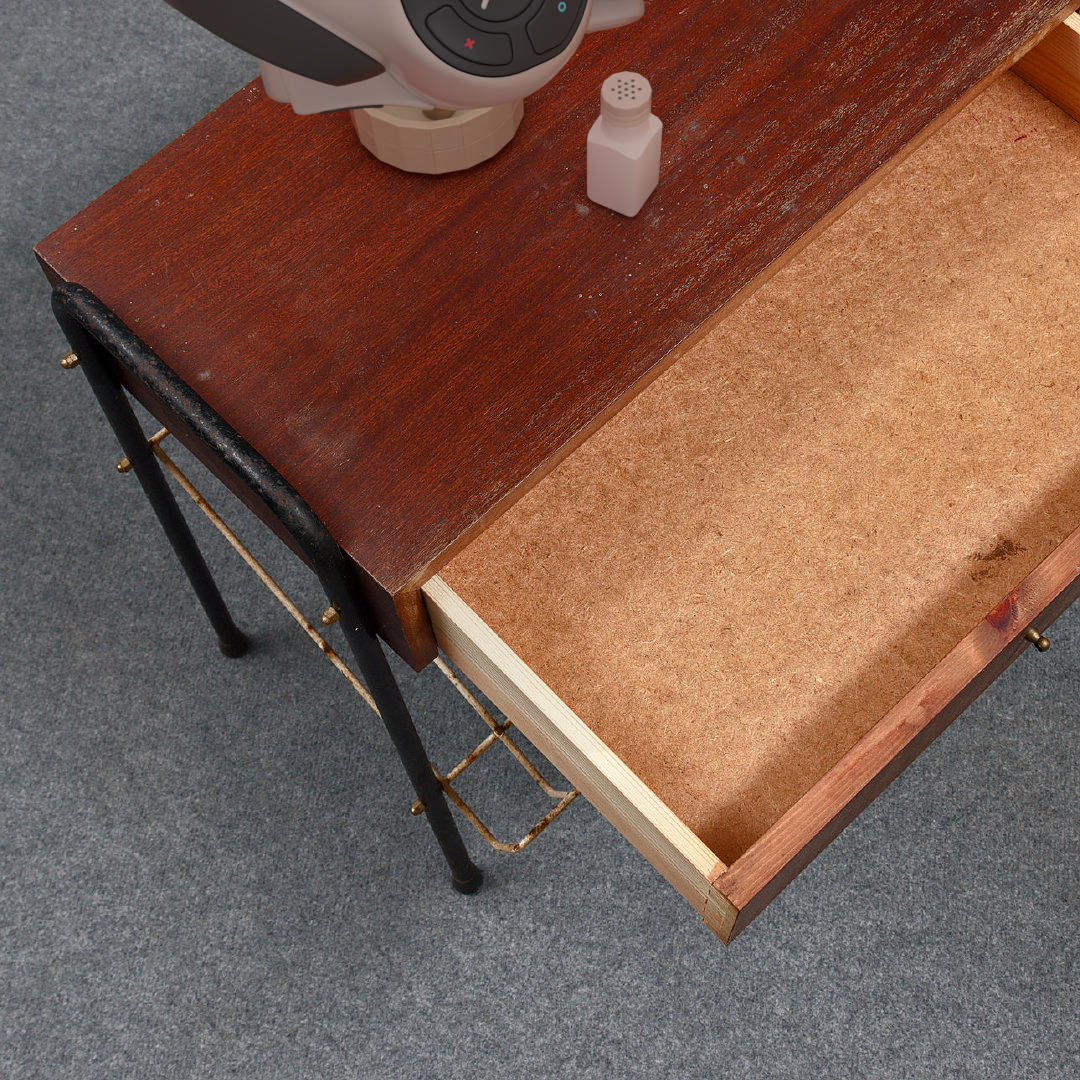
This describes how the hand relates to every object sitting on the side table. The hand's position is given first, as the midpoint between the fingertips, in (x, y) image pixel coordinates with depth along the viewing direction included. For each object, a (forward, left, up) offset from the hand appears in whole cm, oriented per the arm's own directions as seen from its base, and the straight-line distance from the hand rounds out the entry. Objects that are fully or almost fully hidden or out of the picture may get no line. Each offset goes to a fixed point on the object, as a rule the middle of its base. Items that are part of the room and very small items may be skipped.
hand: (439, 30), depth 72 cm
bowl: (-2, +11, -17) cm, 20 cm away
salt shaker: (+11, +3, -17) cm, 21 cm away
